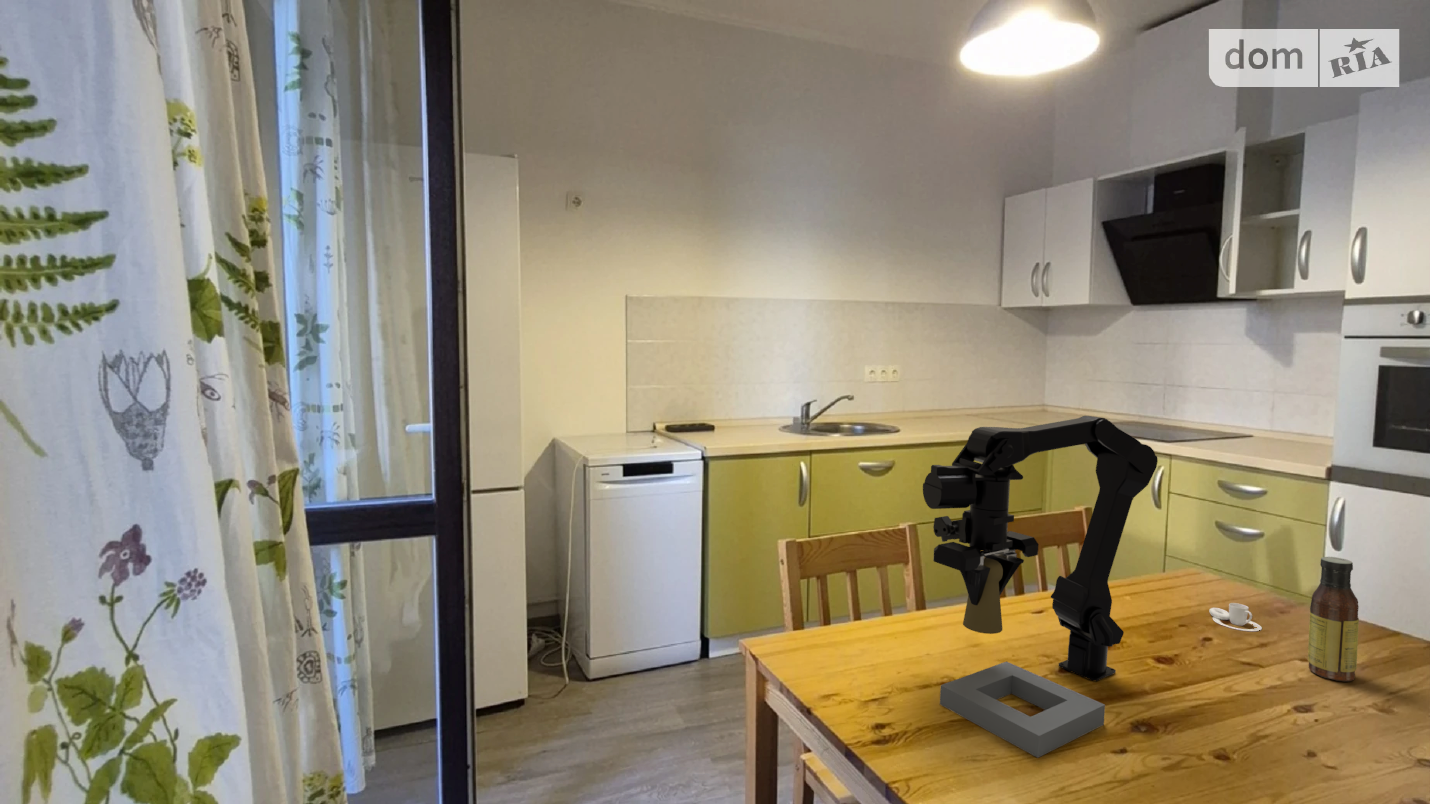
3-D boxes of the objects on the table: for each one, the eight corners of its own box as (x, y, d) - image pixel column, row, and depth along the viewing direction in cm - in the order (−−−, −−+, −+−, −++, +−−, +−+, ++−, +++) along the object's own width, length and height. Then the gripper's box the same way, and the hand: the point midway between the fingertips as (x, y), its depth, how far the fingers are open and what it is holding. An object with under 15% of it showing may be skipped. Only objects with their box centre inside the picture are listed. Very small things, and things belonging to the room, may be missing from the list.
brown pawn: (1005, 635, 110) (1009, 567, 109) (965, 631, 112) (968, 563, 111) (999, 621, 116) (1003, 555, 115) (960, 617, 117) (964, 552, 117)
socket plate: (1005, 679, 115) (1006, 661, 115) (1103, 724, 101) (1105, 704, 101) (939, 704, 106) (940, 685, 106) (1037, 757, 93) (1039, 735, 93)
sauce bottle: (1346, 671, 121) (1358, 557, 119) (1361, 686, 115) (1373, 568, 113) (1298, 663, 123) (1309, 552, 122) (1311, 678, 118) (1322, 561, 116)
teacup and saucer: (1202, 615, 146) (1203, 596, 146) (1243, 618, 145) (1245, 598, 145) (1226, 631, 138) (1228, 611, 137) (1271, 635, 137) (1272, 614, 136)
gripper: (985, 491, 124) (980, 578, 125) (909, 502, 114) (905, 596, 116) (1042, 504, 114) (1037, 598, 116) (965, 517, 105) (960, 619, 106)
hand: (984, 602), depth 113 cm, fingers closed on brown pawn, 4 cm apart
